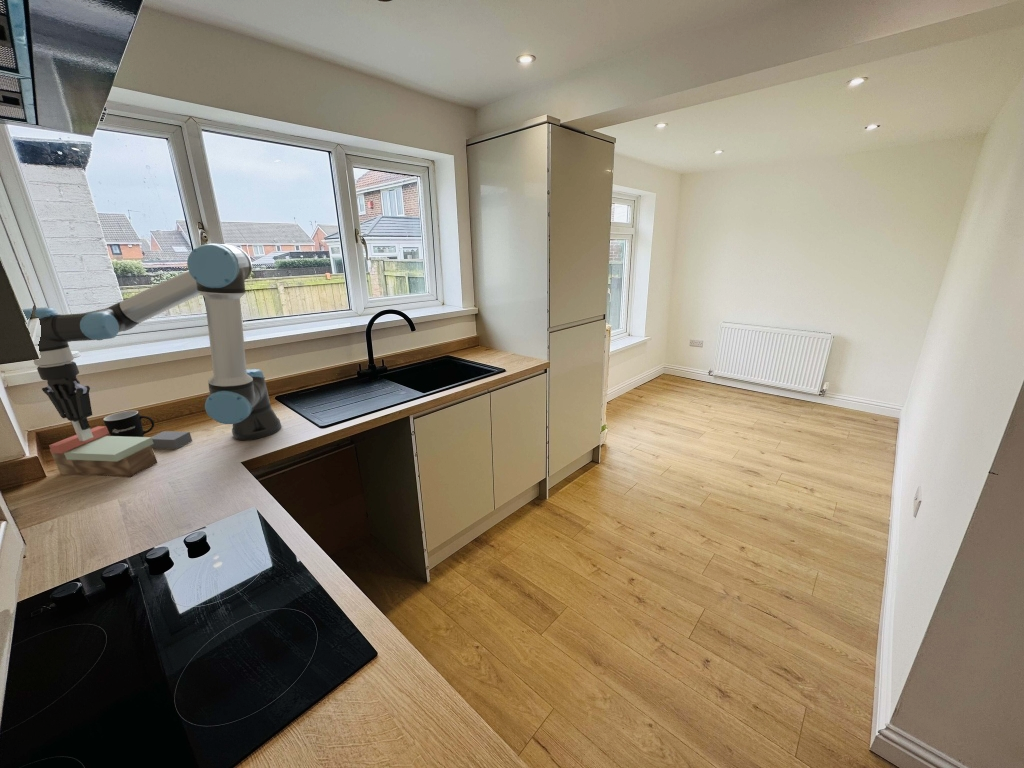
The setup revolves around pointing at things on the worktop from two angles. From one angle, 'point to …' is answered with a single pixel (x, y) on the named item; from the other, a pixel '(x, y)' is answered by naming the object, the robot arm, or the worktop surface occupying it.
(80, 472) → the toolbox
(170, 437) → the lid rest
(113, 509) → the worktop surface
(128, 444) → the lid
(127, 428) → the mug
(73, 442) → the red rectangular bar
